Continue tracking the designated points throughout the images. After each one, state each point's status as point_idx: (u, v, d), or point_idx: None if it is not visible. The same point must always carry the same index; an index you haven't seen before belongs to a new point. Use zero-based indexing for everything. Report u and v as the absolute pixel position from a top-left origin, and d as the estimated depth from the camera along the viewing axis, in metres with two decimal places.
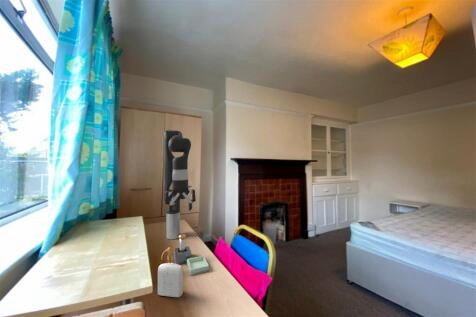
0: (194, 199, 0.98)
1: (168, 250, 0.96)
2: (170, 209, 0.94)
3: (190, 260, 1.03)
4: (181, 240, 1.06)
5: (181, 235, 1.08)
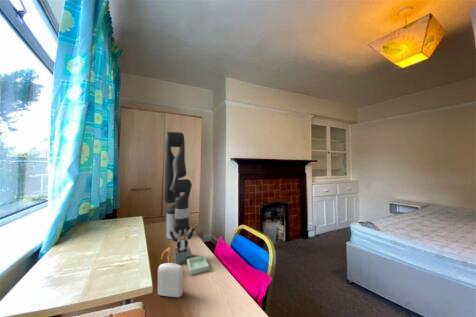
0: (190, 236, 1.08)
1: (168, 250, 0.96)
2: (178, 245, 1.06)
3: (190, 260, 1.03)
4: (181, 240, 1.06)
5: (181, 235, 1.08)
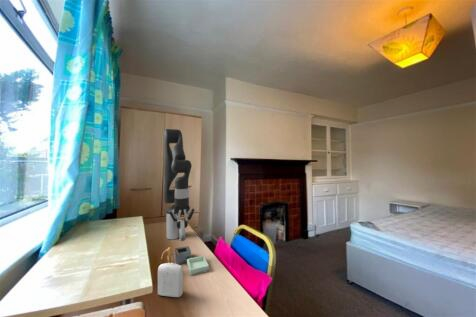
0: (189, 217, 1.08)
1: (168, 250, 0.96)
2: (177, 225, 1.06)
3: (190, 260, 1.03)
4: (181, 220, 1.06)
5: (181, 216, 1.08)
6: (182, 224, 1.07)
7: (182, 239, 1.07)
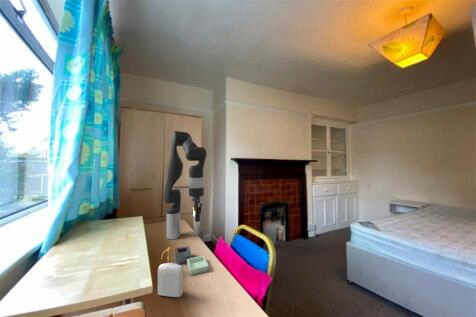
0: (195, 211, 0.96)
1: (168, 250, 0.96)
2: None
3: (190, 260, 1.03)
4: None
5: None
6: None
7: None
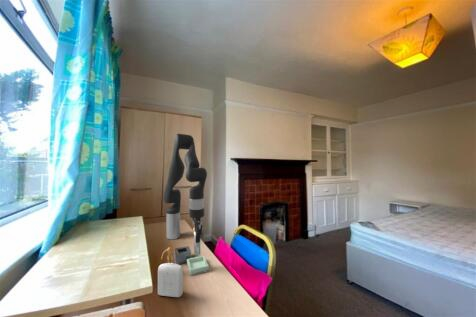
0: (196, 233, 0.96)
1: (168, 250, 0.96)
2: None
3: (190, 260, 1.03)
4: None
5: None
6: (194, 236, 0.99)
7: (194, 252, 1.00)
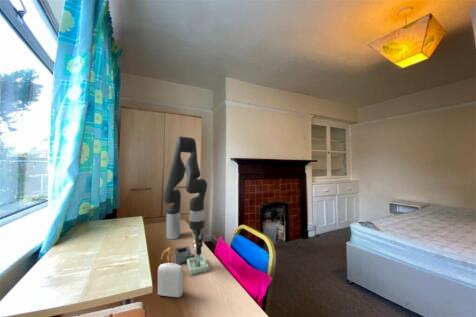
0: (197, 245, 0.94)
1: (168, 250, 0.96)
2: None
3: (190, 260, 1.03)
4: None
5: None
6: (194, 249, 1.00)
7: (194, 265, 1.00)
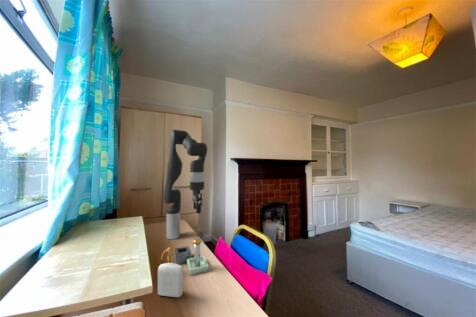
0: (196, 203, 0.98)
1: (168, 250, 0.96)
2: None
3: (190, 260, 1.03)
4: None
5: (197, 239, 1.01)
6: (194, 248, 1.00)
7: (194, 265, 1.00)
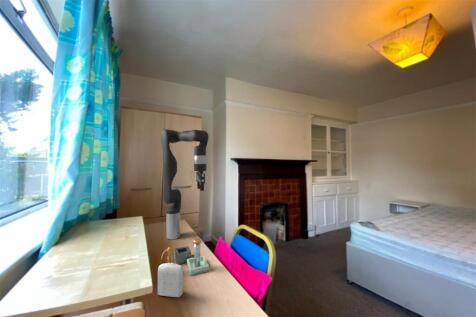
0: (200, 181, 1.13)
1: (168, 250, 0.96)
2: None
3: (190, 260, 1.03)
4: None
5: (197, 239, 1.00)
6: (194, 248, 1.00)
7: (194, 265, 1.00)
